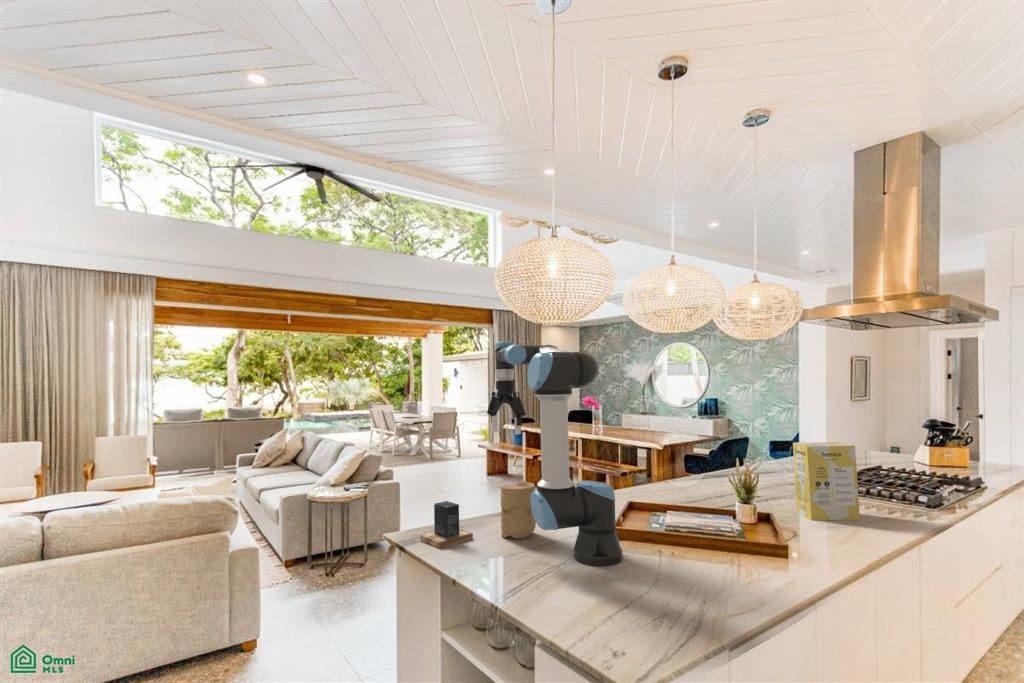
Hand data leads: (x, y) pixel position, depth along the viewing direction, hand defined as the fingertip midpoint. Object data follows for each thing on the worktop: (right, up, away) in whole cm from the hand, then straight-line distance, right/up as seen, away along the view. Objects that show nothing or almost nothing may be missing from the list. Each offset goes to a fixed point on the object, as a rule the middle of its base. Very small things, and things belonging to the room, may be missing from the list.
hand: (506, 433), depth 202 cm
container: (+5, -34, -20) cm, 40 cm away
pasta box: (+126, -32, -4) cm, 130 cm away
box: (-21, -32, -23) cm, 45 cm away
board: (-21, -34, -24) cm, 46 cm away
